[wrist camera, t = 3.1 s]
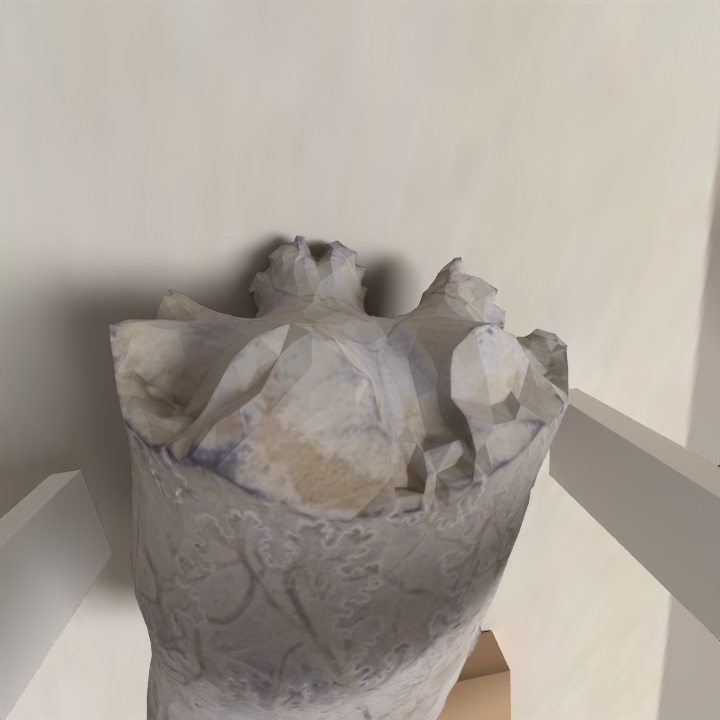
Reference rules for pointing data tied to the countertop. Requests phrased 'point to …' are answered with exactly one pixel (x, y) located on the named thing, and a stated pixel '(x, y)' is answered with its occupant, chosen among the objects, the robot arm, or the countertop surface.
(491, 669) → the board
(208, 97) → the countertop surface
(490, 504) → the stone
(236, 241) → the countertop surface
